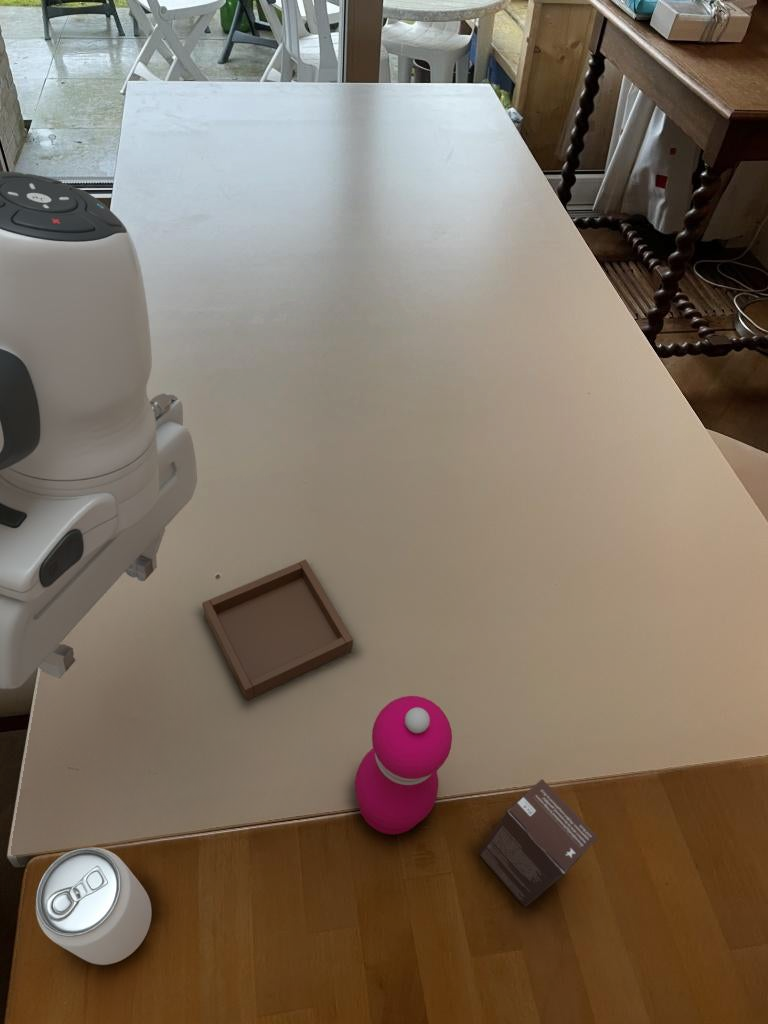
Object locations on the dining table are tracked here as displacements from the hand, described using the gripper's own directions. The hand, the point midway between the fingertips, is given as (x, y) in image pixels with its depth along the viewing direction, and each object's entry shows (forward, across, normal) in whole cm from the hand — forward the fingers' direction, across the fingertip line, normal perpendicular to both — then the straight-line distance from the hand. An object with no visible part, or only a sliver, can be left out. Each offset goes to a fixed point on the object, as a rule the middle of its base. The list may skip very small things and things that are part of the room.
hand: (102, 616), depth 55 cm
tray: (+20, -18, +6) cm, 27 cm away
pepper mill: (+22, -8, +23) cm, 33 cm away
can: (+25, +10, +6) cm, 28 cm away
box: (+22, -7, +35) cm, 42 cm away
